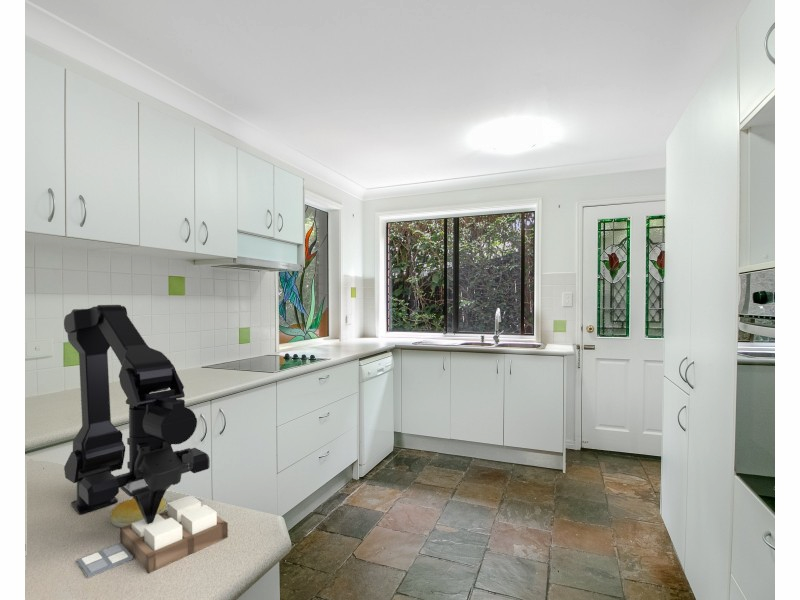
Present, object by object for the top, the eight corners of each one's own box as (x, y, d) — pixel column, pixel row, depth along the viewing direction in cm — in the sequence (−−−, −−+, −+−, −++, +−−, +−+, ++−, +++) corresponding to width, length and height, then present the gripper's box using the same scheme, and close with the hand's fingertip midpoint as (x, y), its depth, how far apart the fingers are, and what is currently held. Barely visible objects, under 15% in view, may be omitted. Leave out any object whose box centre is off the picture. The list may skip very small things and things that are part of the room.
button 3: (167, 519, 78) (167, 503, 78) (191, 510, 81) (190, 495, 81) (177, 527, 75) (177, 510, 75) (201, 518, 78) (201, 501, 78)
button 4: (181, 530, 74) (181, 513, 74) (205, 521, 77) (205, 504, 77) (192, 539, 71) (192, 521, 71) (216, 529, 74) (216, 512, 74)
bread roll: (100, 524, 79) (100, 503, 79) (145, 503, 88) (145, 483, 88) (131, 533, 76) (131, 511, 76) (174, 510, 84) (174, 490, 84)
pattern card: (76, 561, 68) (76, 558, 68) (120, 545, 72) (120, 542, 72) (87, 577, 64) (87, 574, 64) (132, 559, 68) (132, 555, 68)
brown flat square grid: (120, 542, 73) (120, 527, 73) (194, 513, 83) (194, 500, 83) (148, 573, 65) (148, 556, 65) (227, 537, 75) (227, 523, 75)
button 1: (131, 540, 73) (131, 523, 73) (158, 530, 76) (157, 513, 76) (140, 550, 71) (140, 532, 71) (167, 539, 74) (167, 521, 74)
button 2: (144, 545, 70) (144, 527, 69) (171, 534, 73) (171, 517, 73) (154, 556, 67) (154, 536, 67) (182, 544, 70) (182, 525, 70)
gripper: (99, 459, 61) (100, 568, 61) (224, 428, 75) (224, 516, 75) (77, 442, 68) (78, 539, 68) (195, 417, 83) (195, 497, 83)
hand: (149, 522), depth 74 cm, fingers closed, pressing on button 1
